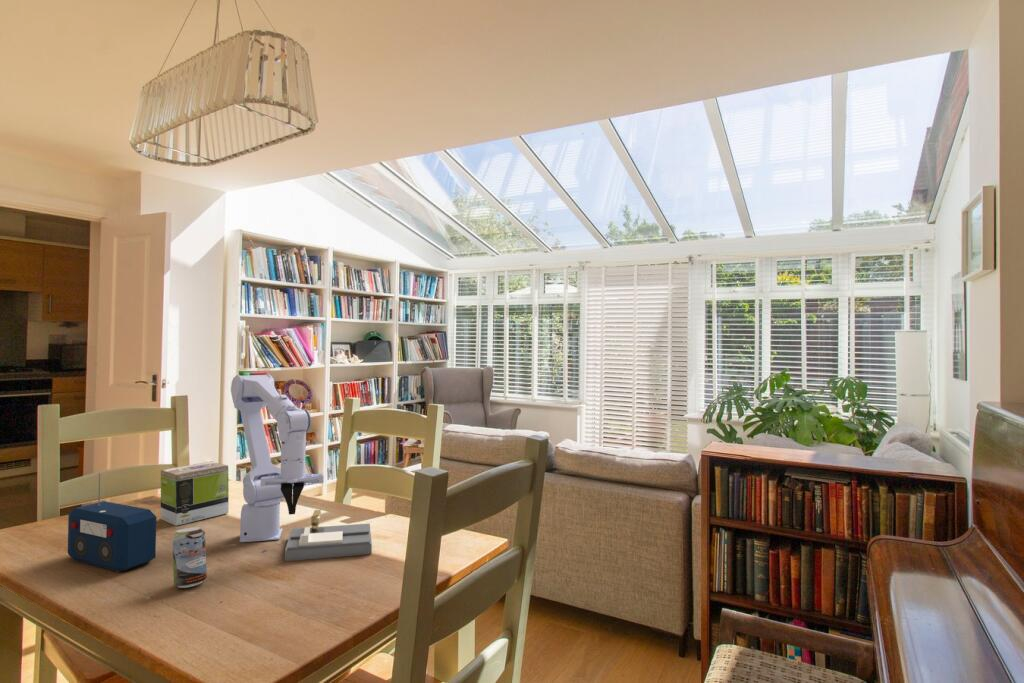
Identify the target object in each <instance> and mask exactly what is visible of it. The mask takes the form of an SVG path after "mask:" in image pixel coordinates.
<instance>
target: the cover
mask: <svg viewBox="0 0 1024 683" xmlns="http://www.w3.org/2000/svg"><path fill="white" fill-rule="evenodd" d="M304 528H305V530H304V534H301V537H300V541H299V546H310V545H323V544H337V543H342V538H343V531H338V532H324V533H310V528H311V527H304Z"/></svg>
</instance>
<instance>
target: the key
mask: <svg viewBox="0 0 1024 683" xmlns="http://www.w3.org/2000/svg"><path fill="white" fill-rule="evenodd" d="M321 513H322V510H321V509H314V511H313V514H312V515H311V517H310V521H311V522H310V524H311V527H312V531H318V527H319V525H320V520H321V517H322V514H321Z"/></svg>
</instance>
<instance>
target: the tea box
mask: <svg viewBox="0 0 1024 683" xmlns="http://www.w3.org/2000/svg"><path fill="white" fill-rule="evenodd" d="M229 490H230V489H229V465H227V464H223V463H219V462H215V461H213V460H212V461H207V462H206V461H205V462H200V463H195V464H188V465H182V466H177V467H171V468H165V469H161V470H160V519H161V520H162V521H164V522H166V523H168V524H170V525H173V526H176V527H178V526H181V525H185V524H189V523H193V522H194V523H195V522H197V521H200V520H205V519H209V518H214V517H217V516H222V515H225V514H229V511H230V510H229V506H230V505H229V501H230V500H229Z"/></svg>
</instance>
